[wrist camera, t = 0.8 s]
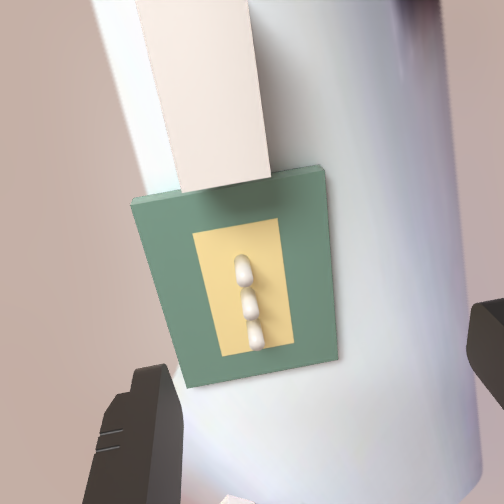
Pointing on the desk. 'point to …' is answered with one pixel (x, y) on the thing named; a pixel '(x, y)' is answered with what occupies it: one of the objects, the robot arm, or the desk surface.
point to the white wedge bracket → (235, 500)
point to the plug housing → (207, 89)
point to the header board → (243, 274)
